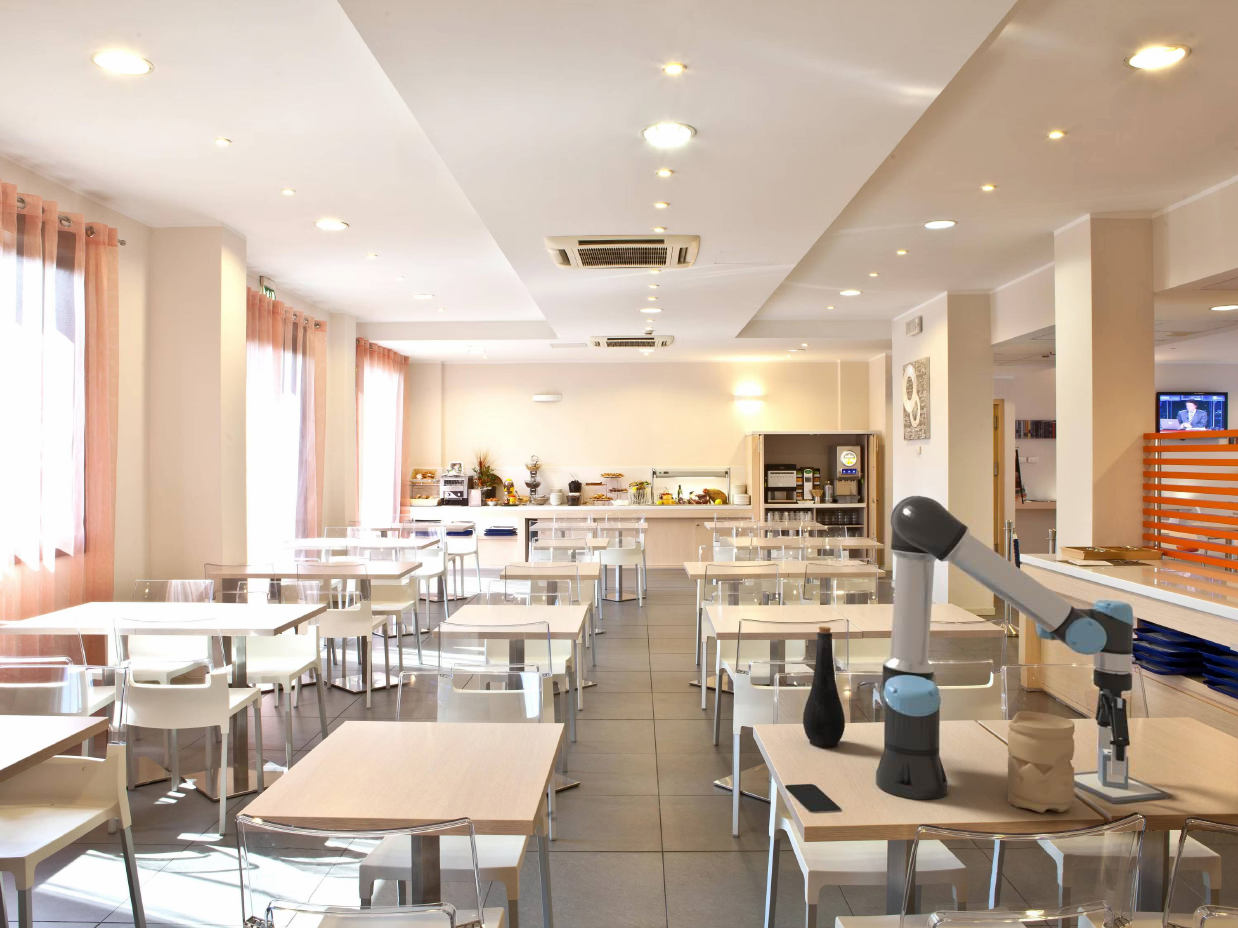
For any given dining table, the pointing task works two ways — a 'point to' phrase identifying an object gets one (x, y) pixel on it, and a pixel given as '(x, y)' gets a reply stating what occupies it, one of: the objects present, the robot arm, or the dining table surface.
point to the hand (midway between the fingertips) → (1111, 764)
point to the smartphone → (812, 798)
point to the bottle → (824, 698)
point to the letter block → (1105, 771)
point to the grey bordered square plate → (1118, 789)
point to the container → (1040, 762)
